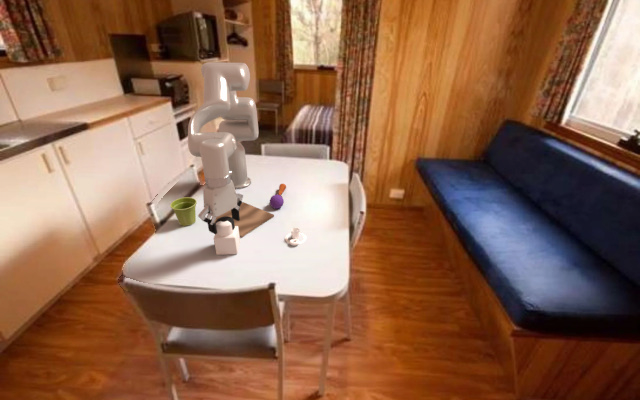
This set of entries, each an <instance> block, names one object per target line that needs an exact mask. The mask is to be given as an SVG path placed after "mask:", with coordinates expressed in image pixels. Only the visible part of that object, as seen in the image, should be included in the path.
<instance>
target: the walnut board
mask: <svg viewBox="0 0 640 400" xmlns="http://www.w3.org/2000/svg"><path fill="white" fill-rule="evenodd" d="M225 216H228V217H231V218H232V213H231V210H229V211H227V212H226V213H224V214H222V215H220V216H218V217H216V219H215V222H216V220H217V219H218V218H221V217H225ZM239 217H240V220H239V221H237V220H234V225H235V226H238V228H239V236H240V239H241V238H244V237H245V236H247V235H248V234H250V233H252V232H253V231H254V230H255V229H257V228H260V227H261V226H262V225H263V224H265V223H267V222H269V220H271V219H273V218H274V217H275V215H274V214H273V213H271V212H268V211H266V210H264V209H261V208H259V207H256V206H254V205H253V204H252V205H251V204H249V203H246V202H244V201H242V203H241V205H240V210H239ZM211 219H212V218H210V220H211ZM215 222H214V223H215Z"/></svg>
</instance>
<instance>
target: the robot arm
mask: <svg viewBox="0 0 640 400" xmlns="http://www.w3.org/2000/svg"><path fill="white" fill-rule="evenodd" d="M200 71H201V75H202V78H203V104H202V105H200V106H199V107H198V108H197V109H196V111H195V112H194V113H192V114H193V115H192V116H191V118H190V119H189V122H188V126H187V127H188V129H187V146H188V150H189V152H190V154H191V155H192V156H194V157H196V158H201V163H202V171H203V176H204V181H205V185H203V191H202V192H203V193H202V195H203V196H202V197H203V207H204V208H203V209H202V210H201V211H200V212H199V213H198V215H197V216H198V218H200V220H201V221H202V222H204V223H206V224H207V229H208V231H209V233H211V234H214V235H215V234H217V228H216V223H214V222H215V219H216V217H218V216H220V215H222V214H224V213H226V212H227V211H229V210H231V213H232V218H233V219H234V220H237V221H239V220H240V217H239V210H240V205H241V203H242V202H243V198H244V194H241V193H237V192H236V189H237V190H238V189H244V188H247V187H249V186H250V185H251V183H252V179H251V178H250V177H248V169H247V159H246V150H245V147H244V146H243V144H242V143H241V142H244V141H245V142H246V141H255V140H257V139H258V138H259V123H258V122H259V120H258V112H257V105H256V102H255V100H254V99H253V98H252V97H249V96H247V97H246V96H245V97H244V96H243V97H242V96H241V97H240V96H238V95H237V92H242V91H243V92H244V91H247V90H248V88H249V85H250V81H251V73H250V72H251V71H250V69H249V67H248V65H247V64H246V63H245V62H223V61H221V62H220V61H219V62H218V61H217V62H216V61H215V62H214V61H213V62H211V61H210V62H204V63H203V64H202V65H201V67H200ZM218 118H221V119H223V120H222V121H220V123H219V124H218V131H216V132H201V129H202V128H203V127H204V126H205V125H206V124H208V123H209V122H211V121H214V120H216V119H218ZM210 219H211V220H210Z"/></svg>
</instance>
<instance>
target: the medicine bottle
mask: <svg viewBox="0 0 640 400" xmlns="http://www.w3.org/2000/svg"><path fill="white" fill-rule="evenodd" d="M215 223H216V228H217V234H214V236H213V243H214V249H215V254H216V255H218V256H220V255H223V256H224V255H237V254H238V253H239V249H240V244H241V237H240V236H239V228H238V226H235V225H234V219H233V218H231V217H228V216H225V217H221V218H218V219H217V220H216V222H215Z"/></svg>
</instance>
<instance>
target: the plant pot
mask: <svg viewBox="0 0 640 400" xmlns="http://www.w3.org/2000/svg"><path fill="white" fill-rule="evenodd" d="M197 202H198V200H197V199H196V198H194V197H191V196H190V197H188V196H187V197H180V198H177V199H175V200H173V201H172V202H171V203H170V205H169V206H170V208H171V209H172V211H173V212H174V214H175V216H176V219H177V221H178V223H179V225H180V226H183V227H187V226H192V225H194V224H195V223H196V221H197V218H196V207H197V204H198V203H197Z"/></svg>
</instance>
